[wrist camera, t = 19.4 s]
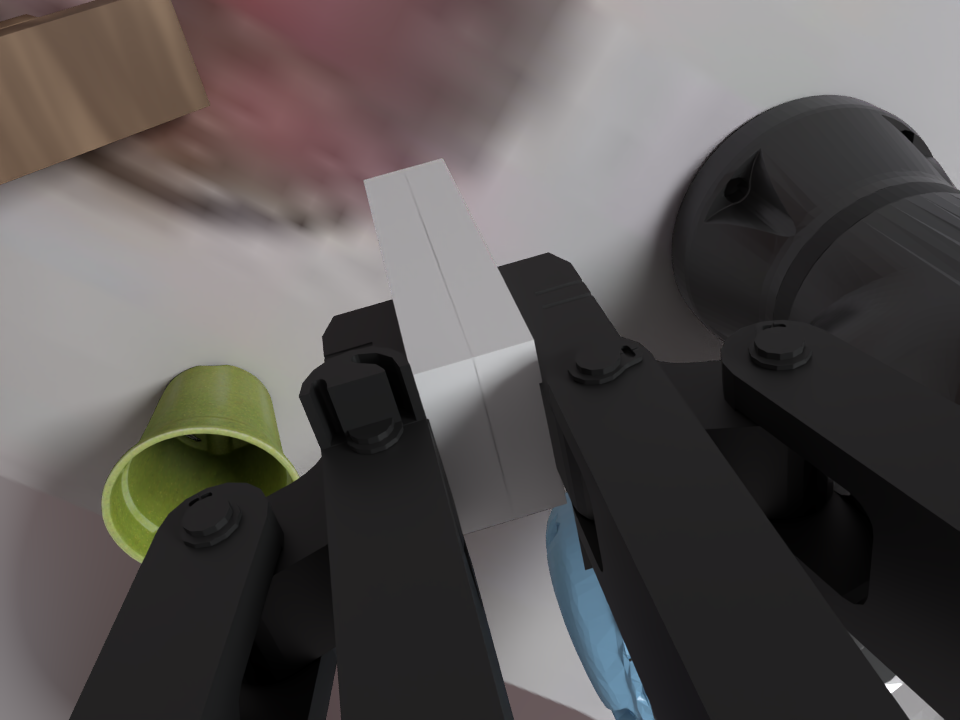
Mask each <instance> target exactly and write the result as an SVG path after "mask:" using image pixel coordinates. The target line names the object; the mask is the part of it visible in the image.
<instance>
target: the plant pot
mask: <svg viewBox="0 0 960 720" xmlns="http://www.w3.org/2000/svg"><path fill="white" fill-rule="evenodd" d="M189 434H192V435H194V436H195V437H197V438H199V439H201V441H195V440H192V439H191V438H189V437H187V436H186V435H189ZM298 478H300V477H299V475H298V473H297V471H296V470H295V468H294V466H293V465H292V464H291V462H290V461H289V460H288V459H287V458H286V457H285V455H284V454H283V451H282V446H281V442H280V437H279V433H278V428H277V423H276V418H275V414H274V409H273V404H272V401H271V397H270V395H269V393H268V391H267V389H266V388H265V387H264V385H263V384H262V383H261V382H260V381H259V380H258V379H257V378H256V377H255V376H253V375H252V374H250V373H249V372H247V371H245V370H243V369H240V368H238V367H234V366H230V365H222V366H196V367H193V368H190V369H188V370H186V371H184V372H182V373H181V374H179V375H178V376H176V377H175V378H174V379H173V380H172V381H171V382H170V383H169V385H168V386H167V387H166V389H165V391H164V393H163V395H162V397H161V399H160V400H159V402H158V405H157V407H156V409H155V411H154V413H153V415H152V417H151V420H150V422H149V424H148V426H147V428H146V429H145V431H144V433H143V435H142V437H141V439H140V441H139V443H138V444H136V445H135V446H133V447H132V448H131V449H129V450H128V451H127V452H126V453H125V454H124V455H123V456H122V457H121V458H120V460H119V461H118V462H117V463H116V465H115V466H114V467H113V469H112V471H111V472H110V474H109V476H108V478H107V480H106V483H105V485H104V489H103V493H102V499H101V508H102V517H103V520H104V523H105V526H106V528H107V530H108V532H109V534H110V536H111V537H112V539H113V540H114V541H115V542H116V544H117V545H118V546H119V547H120V548H121V549H122V550H123V551H124V552H125V553H126V554H128V555H129V556H130V557H131V558H133V559H134V560H136V561H138V562H140V563H141V564H142V562H143V560H144V558H145V555H146V553H147V551H148V549H149V547H150V545H151V543H152V540H153V538H154V536H155V534H156V532H157V530H158V528H159V527H160V526H161V524H162V523H163V521H164V520H165V518H166V517H167V515H168V514H169V513H170V512H171V511H172V510H174V509H175V508H176V507H177V506H178V505H180V504H181V503H182V502H183V501H184V500H185V499H187V498H189V497H191V496H193V495H195V494H196V493H198V492H200V491H202V490H204V489H206V488H209V487H213V486H216V485H220V484H224V483H248V484H251V485H253V486H255V487H257V488H260V489H261V490H262V492H263V493H264V495H265V497H267V496H269V495H270V494H272V493H274V492H276V491H278V490H280V489H281V488H283V487H285V486H287V485H289V484H291V483H292V482H294V481H295V480H297V479H298Z"/></svg>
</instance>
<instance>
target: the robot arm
mask: <svg viewBox="0 0 960 720" xmlns="http://www.w3.org/2000/svg"><path fill="white" fill-rule="evenodd" d="M364 184H365V188H366V192H367V196H368V201H369V205H370V209H371V213H372V217H373V221H374V225H375V229H376V233H377V237H378V241H379V245H380V249H381V254H382V258H383V262H384V266H385V270H386V274H387V278H388V282H389V286H390V290H391V294H392V298H393V299H392V300H389V301H385V302H382V303H378V304H375V305H371V306H368V307H364V308H361V309H357V310H354V311H350V312H347V313H343V314H340V315H336V316H334V317H333V318H332V320H331V322H330V324H329V325H328V327H327V329H326V331H325V333H324V334H323V336H322V339H323V351H324V357H325V359H324V362H325V363H323V364H322V365H320V366H319V367H317V368H316V369H314V370H313V371H312V373H311V374H310V375H309V376H308V377H307V378H306V380H305V381H304V382H303V383H302V387H301V391H300V394H299V398H300V400H301V403H302V405H303V407H304V410H305V412H306V415H307V417H308V420H309V422H310V424H311V427H312V429H313V432H314V434H315V436H316V439H317V441H318V444H319V446H320V448H321V455H322V457H321V458H320V460H319V461H318V462H317V464H316V465H315V466H313V467H312V468H311V469H310V470H309V471H308V472H307V473H306V474H304V475H303V476H301V477H300V478H298V479H297V480H295V481H294V482H292V483H291V484H289V485H287V486H285V487H283V488H281V489H280V490H278V491H276V492H274V493H272V494H270V495H269V496H267V497H265V495H264V493H263V492H262V490H261V489H260V488H257V487H255V486H253V485H251V484H248V483H224V484H220V485H216V486H213V487H209V488H206V489H204V490H202V491H200V492H198V493H196V494H195V495H193V496H191V497H189V498H187V499H185V500H184V501H183V502H182V503H181V504H180V505H178V506H177V507H176V508H175V509H174V510H172V511H171V512H170V513H169V514H168V515H167V517H166V518H165V520H164V521H163V523H162V524H161V526H160V527H159V528H158V530H157V532H156V534H155V536H154V538H153V540H152V543H151V545H150V547H149V549H148V551H147V553H146V555H145V558H144V560H143V562H142V564H141V566H140V568H139V570H138V573H137V575H136V577H135V579H134V581H133V583H132V585H131V588H130V590H129V592H128V594H127V596H126V598H125V601H124V603H123V605H122V607H121V609H120V611H119V613H118V616H117V618H116V620H115V622H114V624H113V626H112V628H111V631H110V633H109V635H108V637H107V639H106V641H105V644H104V646H103V648H102V650H101V652H100V654H99V656H98V659H97V661H96V663H95V665H94V667H93V669H92V671H91V674H90V676H89V678H88V680H87V682H86V684H85V686H84V689H83V691H82V693H81V695H80V697H79V699H78V702H77V704H76V706H75V708H74V710H73V712H72V714H71V717H70V719H69V720H326V716H327V710H328V706H329V700H330V695H331V690H332V685H333V680H334V674H335V669H336V665H337V668H338V681H339V694H340V708H341V720H514V718H513V715H512V711H511V707H510V704H509V700H508V696H507V692H506V689H505V685H504V681H503V677H502V674H501V670H500V666H499V662H498V659H497V655H496V651H495V648H494V644H493V640H492V636H491V633H490V629H489V625H488V621H487V618H486V614H485V610H484V607H483V603H482V599H481V595H480V592H479V588H478V584H477V581H476V577H475V573H474V569H473V566H472V562H471V559H470V556H469V553H468V549H467V546H466V543H465V540H464V536H463V535H465V534H468V533H472V532H475V531H478V530H482V529H485V528H488V527H491V526H495V525H498V524H501V523H505V522H508V521H511V520H515V519H518V518H521V517H524V516H528V515H531V514H534V513H538V512H541V511H544V510H547V509H551V508H553V509H552V511H551V513H550V516H549V519H548V522H547V529H546V549H547V560H548V566H549V571H550V575H551V580H552V584H553V588H554V592H555V595H556V598H557V601H558V604H559V608H560V610H561V613H562V616H563V619H564V622H565V625H566V627H567V630H568V632H569V635H570V637H571V640H572V642H573V645H574V647H575V649H576V652H577V654H578V656H579V658H580V660H581V662H582V665H583V667H584V669H585V671H586V673H587V675H588V677H589V679H590V681H591V683H592V685H593V687H594V689H595V691H596V692H597V694H598V696H599V697H600V699H601V701H602V702H603V704H604V705H605V706H606V708H608V709H610V710H612V713H613V715H614V717H615V719H616V720H960V191H959V190H957V189H956V187H955V186H954V184H953V183H952V181H951V180H950V178H949V177H948V176H947V174H946V173H945V171H944V170H943V168H942V167H941V165H940V164H939V163H938V162H937V161H936V159H934V158H933V156H932V154H931V152H930V150H929V149H928V147H927V145H926V144H925V143H924V141H923V140H922V139H921V137H920V136H919V135H918V134H917V133H916V132H915V131H914V130H913V129H912V128H911V127H910V126H909V125H908V124H906V123H905V122H904V121H903V120H901V119H900V118H898V117H897V116H895V115H893V114H891V113H889V112H887V111H885V110H883V109H881V108H878V107H876V106H874V105H872V104H870V103H868V102H865V101H862V100H860V99H856V98H852V97H847V96H839V95H820V96H811V97H805V98H801V99H797V100H793V101H790V102H787V103H784V104H782V105H779V106H777V107H775V108H773V109H770V110H768V111H766V112H764V113H763V114H761V115H759V116H757V117H756V118H754V119H752V120H751V121H749V122H748V123H746V124H745V125H744V126H742V127H741V128H740V129H738V130H737V131H736V132H735V133H733V134H732V135H731V136H730V137H729V138H728V139H727V140H726V141H724V142H723V143H722V144H721V145H720V146H719V147H718V148H717V150H716V151H715V152H714V153H713V154H712V155H711V156H710V158H709V159H708V160H707V161H706V162H705V164H704V165H703V167H702V168H701V169H700V171H699V172H698V174H697V175H696V177H695V178H694V180H693V182H692V184H691V185H690V187H689V189H688V191H687V193H686V195H685V197H684V200H683V202H682V204H681V207H680V210H679V213H678V216H677V219H676V223H675V228H674V233H673V240H672V264H673V271H674V276H675V280H676V283H677V286H678V288H679V291H680V293H681V295H682V297H683V299H684V300H685V302H686V303H687V305H688V306H689V307H690V309H691V310H692V311H693V312H694V314H695V315H696V316H697V317H698V318H699V319H700V320H701V322H702V323H703V324H704V325H705V326H706V327H707V328H708V329H709V330H710V331H711V332H712V333H713V334H715V335H716V336H717V337H718V338H720V339H721V340H723V341H724V342H725V343H724V345H723V347H722V348H721V360H720V361H707V362H695V363H668V362H661V361H656V360H655V358H654V357H653V355H652V354H651V353H650V352H649V351H648V350H647V349H646V348H645V347H643V346H642V345H641V344H640V343H638V342H635V341H632V340H629V339H626V338H623V337H620V335H619V334H618V332H617V331H616V329H615V328H614V326H613V325H612V323H611V322H610V321H609V319H608V318H607V316H606V315H605V313H604V312H603V310H602V309H601V307H600V306H599V304H598V303H597V301H596V300H595V298H594V297H593V295H592V296H591V293H590V291H589V289H588V288H587V286H586V285H585V284H584V282H582V279H581V278H580V276H579V275H578V273H577V272H576V270H575V269H574V267H573V266H572V264H571V263H570V262H568V261H565V260H563V259H561V258H559V257H557V256H555V255H553V254H551V253H549V252H548V253H545V254H541V255H538V256H534V257H531V258H527V259H524V260H520V261H517V262H513V263H510V264H506V265H503V266H499V267H497V266H496V264H495V262H494V260H493V258H492V256H491V254H490V252H489V250H488V248H487V246H486V244H485V242H484V240H483V238H482V236H481V234H480V232H479V230H478V228H477V226H476V224H475V222H474V220H473V218H472V216H471V214H470V212H469V210H468V208H467V206H466V204H465V202H464V200H463V198H462V196H461V194H460V192H459V190H458V188H457V186H456V184H455V182H454V180H453V178H452V176H451V174H450V172H449V170H448V168H447V166H446V164H445V162H444V160H443V158H442V159H438V160H434V161H431V162H427V163H424V164H420V165H416V166H413V167H409V168H406V169H402V170H398V171H395V172H391V173H388V174H384V175H380V176H377V177H373V178H370V179H366V180H364ZM563 484H564V486H565V489H566V491H567V492H566V493H565V491H564V486H563Z"/></svg>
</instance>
